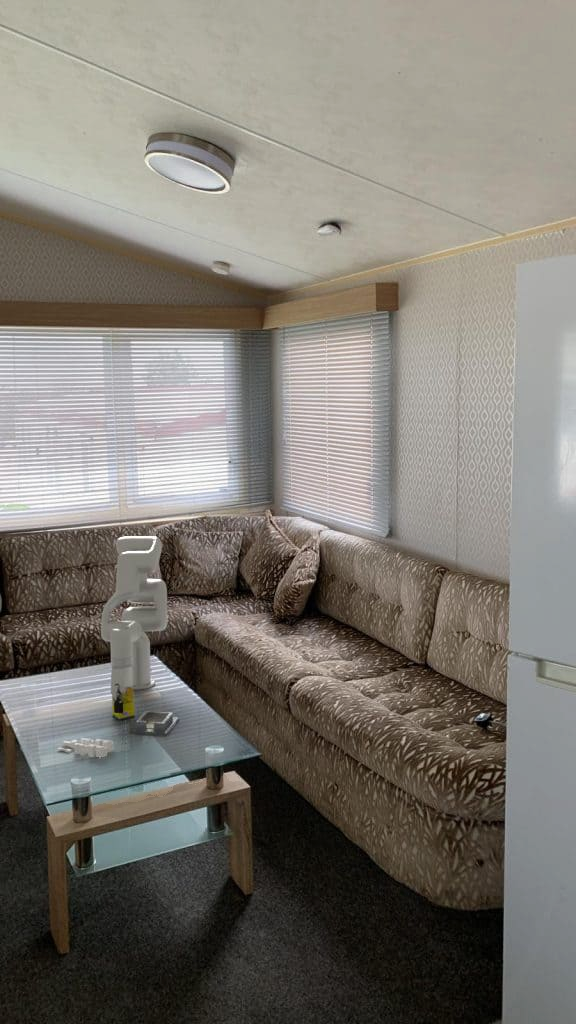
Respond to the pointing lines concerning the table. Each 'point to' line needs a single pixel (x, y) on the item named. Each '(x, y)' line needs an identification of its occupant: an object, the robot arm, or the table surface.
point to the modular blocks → (89, 747)
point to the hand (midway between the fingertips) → (123, 708)
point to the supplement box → (125, 705)
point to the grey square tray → (154, 723)
